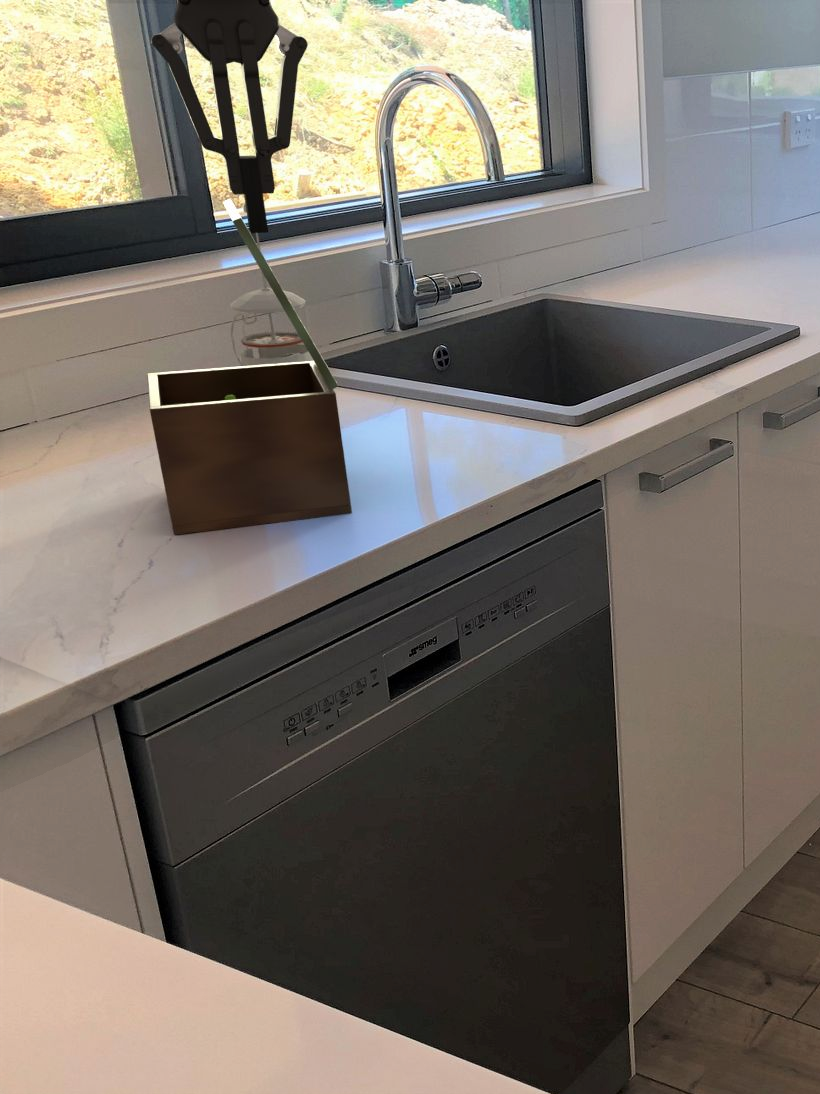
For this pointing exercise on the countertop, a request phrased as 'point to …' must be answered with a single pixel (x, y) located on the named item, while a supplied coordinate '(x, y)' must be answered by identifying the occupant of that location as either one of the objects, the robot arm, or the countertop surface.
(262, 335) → the french press
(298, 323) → the lid
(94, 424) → the countertop surface
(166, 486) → the chest
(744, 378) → the countertop surface
